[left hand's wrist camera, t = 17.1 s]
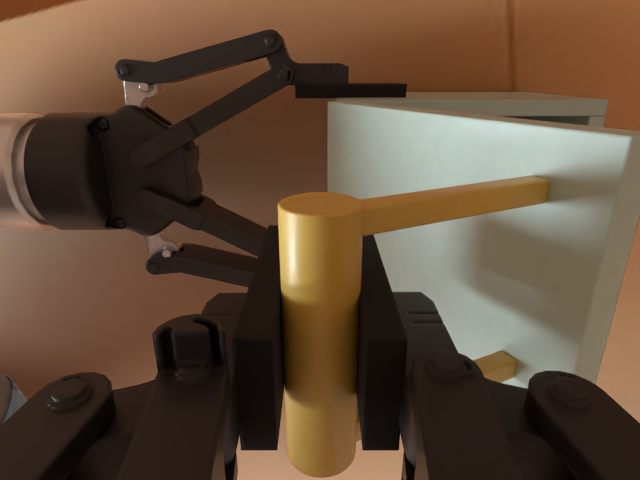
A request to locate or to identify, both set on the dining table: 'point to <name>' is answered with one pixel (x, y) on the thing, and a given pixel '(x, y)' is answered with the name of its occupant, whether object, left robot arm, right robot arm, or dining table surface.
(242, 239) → the right robot arm
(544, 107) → the chest
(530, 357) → the lid
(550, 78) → the dining table surface
